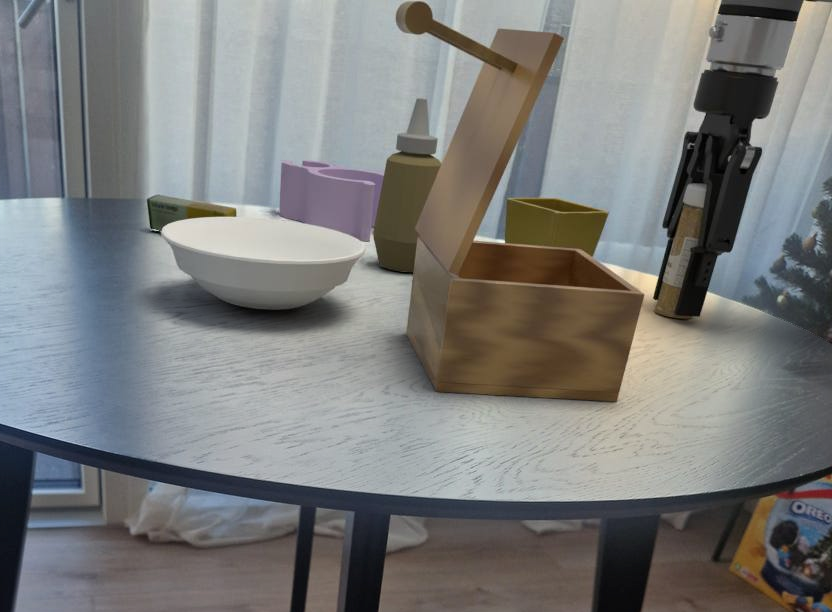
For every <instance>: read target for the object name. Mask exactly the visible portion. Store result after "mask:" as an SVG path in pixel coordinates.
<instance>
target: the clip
mask: <svg viewBox="0 0 832 612" xmlns="http://www.w3.org/2000/svg"><path fill="white" fill-rule="evenodd" d="M383 177H384V173H382V172H378V171H372V170H365V169H359V168H358V169H357V168H350V167H344V166H340V165H337V164H334V163H330V162H325V161H318V160H310V159H302V162H301V165H300V164H296V163H293V161H292V160H287V159H286V160H285V159H284V160H281V162H280V183H279V185H280V186H279V187H280V189H279V208H278V210H279V211H278V215H279V216H280V217H283V218H285V219H289V220H294V221H297V222H300V223H304V224H310V225H315V226H320V227H324V228H328V229H332V230H335V231H339V232H342V233H345V234H348V235H350V236H352V237H354V238H356V239H358V240H360V241H361V242H370V240H371V231H372V227H373V228H374V225H375V220H376V214H377V209H378V204H379V198H380V193H381V188H382V183H383Z"/></svg>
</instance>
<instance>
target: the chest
mask: <svg viewBox="0 0 832 612" xmlns="http://www.w3.org/2000/svg"><path fill="white" fill-rule="evenodd" d="M412 273H413V274H412V281H411V282H412V283H411V290H410V298H409V306H408V313H407V320H406V321H407V323H406V329H405V334H406V335H407V337H408V340H409V342H410V344H411V346H412V347H413V349H414V351H415V354H416V355H417V357H418V359H419V361H420V363H421V365H422V367H423V369H424V371H425V373H426V375H427V376H428V378H429V381H430V383H431V385H432V387H433V388H434V390H435V392H437V393H439V392H440V393H452V394H453V393H454V394H471V395H472V394H473V395H487V396H488V395H492V396H507V397H523V398H524V397H526V398H542V399H543V398H546V399H562V400H563V399H564V400H579V401H596V402H597V401H598V402H612V403H613V402H615V403H617V402H618V398H619V395H620V391H621V387H622V383H623V379H624V376H625V372H626V368H627V364H628V360H629V357H630V352H631V348H632V345H633V341H634V337H635V333H636V330H637V325H638V322H639V319H640V318H639V317H640V314H641V309H642V306H643V302H644V299H645V293H644V292H642V290H639V288H636V286H634V285H632V284H631V283H630V282H628V281H627V280H626V279H624V278H623V277H621V276H620V275H618V274H617V273H616V272H614V271H612V270H611V269H610V268H609V267H607V266H606V265H604V264H603V263H602V262H600V261H599V260H597V259H596V258H594V257H591V256H590V255H588V254H587V253H586V252H584V251H583V250H581V249H573V248H560V247H548V246H535V245H523V244H510V243H505V242H496V241H483V240H473V242H472V245H471V247H470V249H469V251H468V253H467V256H466V258H465V260H464V262H463V265H462V267H461V269H460V271H459V274H458V275H455V274H453V273H451V272H449V271H448V270H447V269H446V267H445V266H444V265H443V264H442V262H441V261H440V260H439V259H438V257H437V256H436V255H435V254H434V252H433V251H432V250H431V249H430V247H429V246H428V245H427V244H426V242H425V241H424V240H423V239H422V237H421V236H418V240H417V248H416V256H415V264H414V272H412Z"/></svg>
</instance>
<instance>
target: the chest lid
mask: <svg viewBox="0 0 832 612" xmlns="http://www.w3.org/2000/svg"><path fill="white" fill-rule="evenodd" d="M395 23H396V26H397V28H398V29H399V30H400V31H401V32H402V33H404V34H410V35H416V36H417V35H418V36H420V35H423V34H428V35H430V36H432V37H434V38H435V39H438V40H440V41H442V42H444V43H446V44H448V45H450V46H452V47H453V48H456V49H457V50H459V51H461V52H464V53H465V54H467V55H469V56H471V57H473V58H475V59H477V60H479V61H481V62H483V64H482V66H481V68H480V70H479V73H478V76H477V78H476V80H475V82H474V85H473V87H472V90H471V92H470V95H469V97H468V100H467V101H466V104H465V107H464V109H463V111H462V114H461V116H460V119H459V120H458V124H457V126H456V128H455V130H454V133H453V136H452V138H451V141H450V142H449V145H448V147H447V150H446V153H445V154H444V157H443V159H442V162H441V163H442V164H441V167H440V169H439V172H438V174H437V176H436V179H435V181H434V184H433V186H432V188H431V191H430V193H429V196H428V198H427V200H426V203H425V205H424V208H423V210H422V213H421V215H420V217H419V220H418V222H417V225H416V227H415V230H416V231H417V232H418V233H419V235H420V236H421V237H422V239H423V240H424V241H425V242H426V244H427V245H428V246H429V247H430V249H431V250H432V251H433V252H434V254H435V255H436V256H437V257H438V259H439V260H440V261H441V262H442V264H443V265H444V266H445V267H446V269H447V270H448V271H449V272H451V273H453V274H455V275H458V274H459V271H460V269H461V267H462V265H463V262H464V260H465V258H466V256H467V253H468V251H469V249H470V247H471V245H472V242H473V241H475V238H476V237H477V233H478V231H479V229H480V227H481V224H482V222H483V220H484V219H485V215H486V213H487V211H488V209H489V207H490V204H491V202H492V200H493V198H494V196H495V194H496V191H497V189H498V186H499V184H500V182H501V180H502V177H503V176H504V173H505V171H506V169H507V166H508V164H509V162H510V160H511V157H512V156H513V154H514V151H515V149H516V147H517V144H518V142H519V140H520V137H521V135H522V133H523V132H524V128H525V127H526V124H527V122H528V120H529V118H530V115H531V113H532V111H533V109H534V106H535V104H536V102H537V100H538V99H539V95H540V93H541V91H542V89H543V86H544V85H545V82H546V80H547V78H548V75H549V73H550V71H551V69H552V66H553V64H554V62H555V60H556V58H557V55H558V53H559V51H560V49H561V47H562V44H563V42H564V40H565V37H564V36H562V35H560V34H558V33H557V32H551V31H550V32H549V31H537V30H524V29H512V28H511V29H510V28H497V30H496V32H495V35H494V37H493V39H492V42H491V44H490V46H489V47H488V46H486V45H484V44H482V43H480V42H478V41H477V40H474V39H473V38H471V37H469V36H467V35H465V34H463V33H461V32H459V31H457V30H455V29H453V28H451V27H449V26H447V24H444V23H441V22H439V21H438V20H436V19H434V15H433V11H432V7H430V5H429V4H428V3H427V2H425V1H422V0H413V1H412V0H411V1H409V0H408V1H404V2H402V3H401V4H400V5H399V6H398V8H397V10H396V13H395Z"/></svg>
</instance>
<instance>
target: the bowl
mask: <svg viewBox="0 0 832 612" xmlns="http://www.w3.org/2000/svg"><path fill="white" fill-rule="evenodd" d="M160 235H161V237H162V239H163V240H164V241H165V242H166V243H167V244H168V245H169V247H170V248H171V250H172V252H173V257H174V260H175V262H176V266H177V267H178V269H179V270H180V271H182V272H183V273H184V274H185V275H188V276H190V278H191V279H192V280H193V281H194V282H196V283H197V284H198V285H199V286H200V287H202V288H203V289H204V290H205V291H207V292H208V293H210V294H211V295H213V296H215V297H216V298H217V299H220V300H222V301H224V302H226V303H229V304H232V305H234V306H239V307H243V308H249V309H255V310H267V311H268V310H269V311H270V310H277V311H279V310H281V311H282V310H290V309H291V310H292V309H297V308H300V307H303V306H305V305H308V304H311V303H312V302H314V301H317V300H319V299H320V298H322V297H324V296H326V294H328V293H329V292H331V291H333V290H334V289H335V288H336V287H338V286H341V285H343V284H346V282H348V279H349V277H350V274H351V272H352V269H353V267H354V266H355V264H356V263H357V261H358V260H359V259H360V258H362V257H363V256H364V255H365V253H366V251H367V248H366V246H365V244H364V242H363V241H361V240H359V238H354V237H352V236H350V235H348V234H345V233H342V232H339V231H335V230H332V229H328V228H324V227H320V226H315V225H310V224H305V223H304V222H299V221H292V220H283V219H275V218H263V217H252V216H251V217H249V216H248V217H247V216H237V217H203V218H193V219H185V220H180V221H176V222H173V223H169V224H167V225H166V226H164V227H163V229H162V232H160Z"/></svg>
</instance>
